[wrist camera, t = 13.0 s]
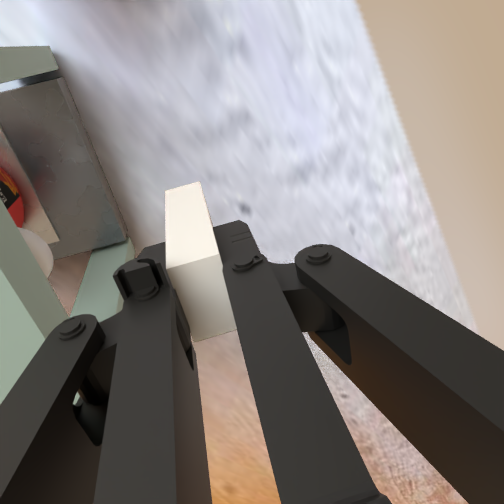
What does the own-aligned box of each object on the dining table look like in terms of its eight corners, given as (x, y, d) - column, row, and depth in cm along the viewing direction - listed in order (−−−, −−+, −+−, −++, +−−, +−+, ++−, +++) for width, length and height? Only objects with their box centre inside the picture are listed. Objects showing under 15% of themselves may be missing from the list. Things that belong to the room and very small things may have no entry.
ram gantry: (100, 260, 33) (42, 460, 17) (3, 57, 25) (-268, 79, 9) (135, 250, 33) (109, 439, 17) (49, 45, 26) (-140, 49, 10)
